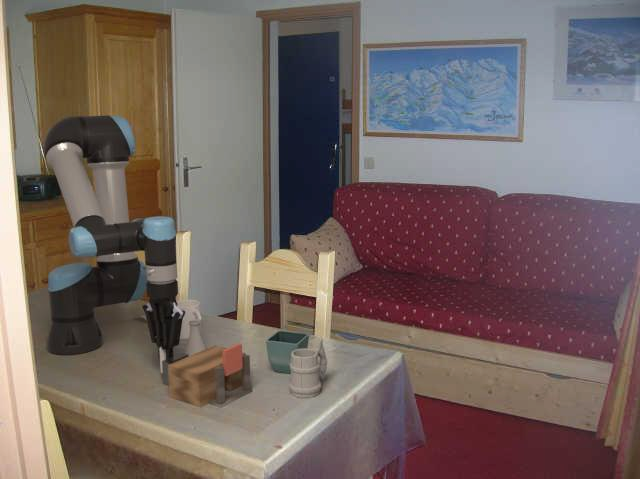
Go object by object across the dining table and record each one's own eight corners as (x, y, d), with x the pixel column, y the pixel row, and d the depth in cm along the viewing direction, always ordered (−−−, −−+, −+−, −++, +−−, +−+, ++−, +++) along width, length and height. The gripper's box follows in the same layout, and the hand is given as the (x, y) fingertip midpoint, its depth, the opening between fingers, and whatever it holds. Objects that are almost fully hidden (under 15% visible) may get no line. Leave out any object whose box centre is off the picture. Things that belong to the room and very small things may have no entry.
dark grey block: (163, 384, 171) (161, 361, 170) (182, 375, 177) (181, 352, 176) (200, 395, 165) (199, 371, 164) (219, 385, 170) (218, 362, 169)
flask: (204, 362, 186) (202, 326, 184) (178, 360, 187) (176, 324, 185) (213, 352, 193) (211, 318, 191) (188, 351, 194) (187, 316, 192)
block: (169, 397, 164) (167, 360, 162) (216, 375, 177) (215, 341, 175) (213, 411, 156) (211, 373, 154) (259, 387, 169) (258, 352, 167)
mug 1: (189, 345, 199) (188, 311, 197) (168, 334, 208) (167, 303, 206) (213, 338, 204) (212, 306, 203) (192, 329, 213) (190, 298, 211)
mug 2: (282, 393, 165) (281, 345, 163) (313, 378, 174) (313, 332, 172) (306, 401, 161) (306, 352, 158) (338, 385, 170) (337, 338, 167)
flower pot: (310, 365, 182) (309, 333, 181) (298, 378, 174) (297, 344, 173) (279, 362, 185) (278, 329, 184) (265, 374, 177) (265, 340, 175)
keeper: (223, 375, 160) (222, 350, 159) (239, 367, 164) (238, 343, 163) (226, 376, 159) (225, 351, 158) (242, 368, 164) (241, 344, 162)
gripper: (132, 279, 171) (137, 370, 175) (168, 287, 164) (173, 381, 168) (155, 273, 177) (160, 361, 182) (191, 280, 170) (196, 372, 174)
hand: (166, 371), depth 175 cm, fingers closed
